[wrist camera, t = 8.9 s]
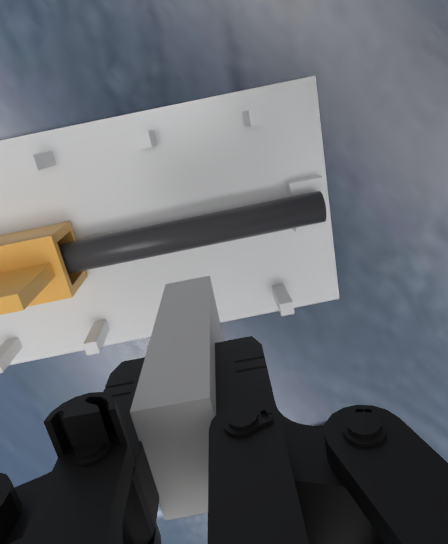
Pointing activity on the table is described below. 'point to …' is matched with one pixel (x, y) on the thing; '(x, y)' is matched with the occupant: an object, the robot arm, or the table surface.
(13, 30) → the table surface
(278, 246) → the slider track board
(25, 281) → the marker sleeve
